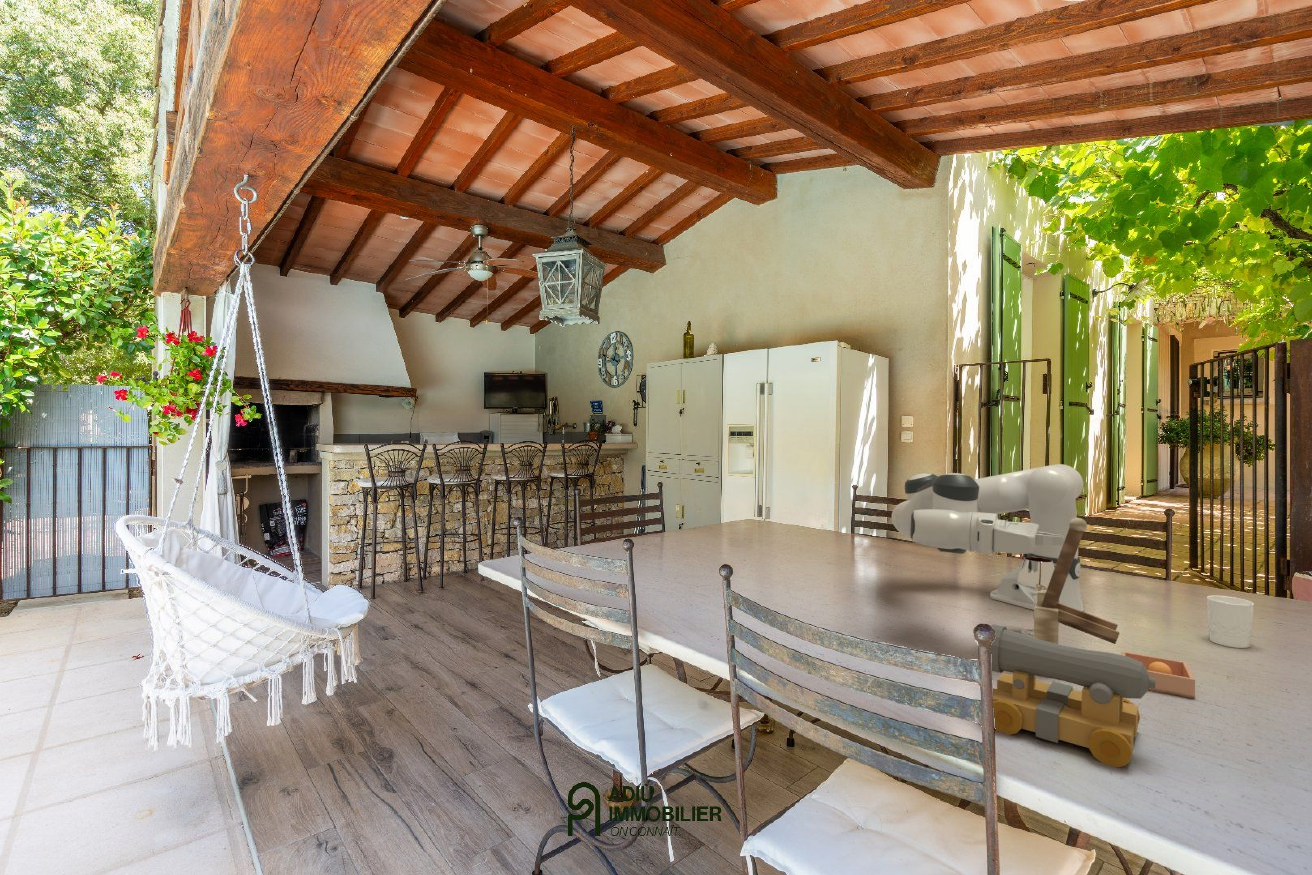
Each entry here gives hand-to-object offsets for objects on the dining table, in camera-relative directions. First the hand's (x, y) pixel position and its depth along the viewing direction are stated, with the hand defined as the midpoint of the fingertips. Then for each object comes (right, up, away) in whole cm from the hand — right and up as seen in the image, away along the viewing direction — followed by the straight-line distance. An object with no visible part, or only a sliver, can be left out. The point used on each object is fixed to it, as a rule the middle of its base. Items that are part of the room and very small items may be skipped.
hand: (1063, 540), depth 127 cm
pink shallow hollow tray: (+13, -26, -8) cm, 30 cm away
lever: (+2, -17, -1) cm, 17 cm away
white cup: (+48, -26, +14) cm, 56 cm away
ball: (+13, -24, -8) cm, 29 cm away
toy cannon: (-18, -27, -27) cm, 42 cm away
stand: (-2, -26, +2) cm, 26 cm away
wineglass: (+6, -26, +19) cm, 33 cm away
